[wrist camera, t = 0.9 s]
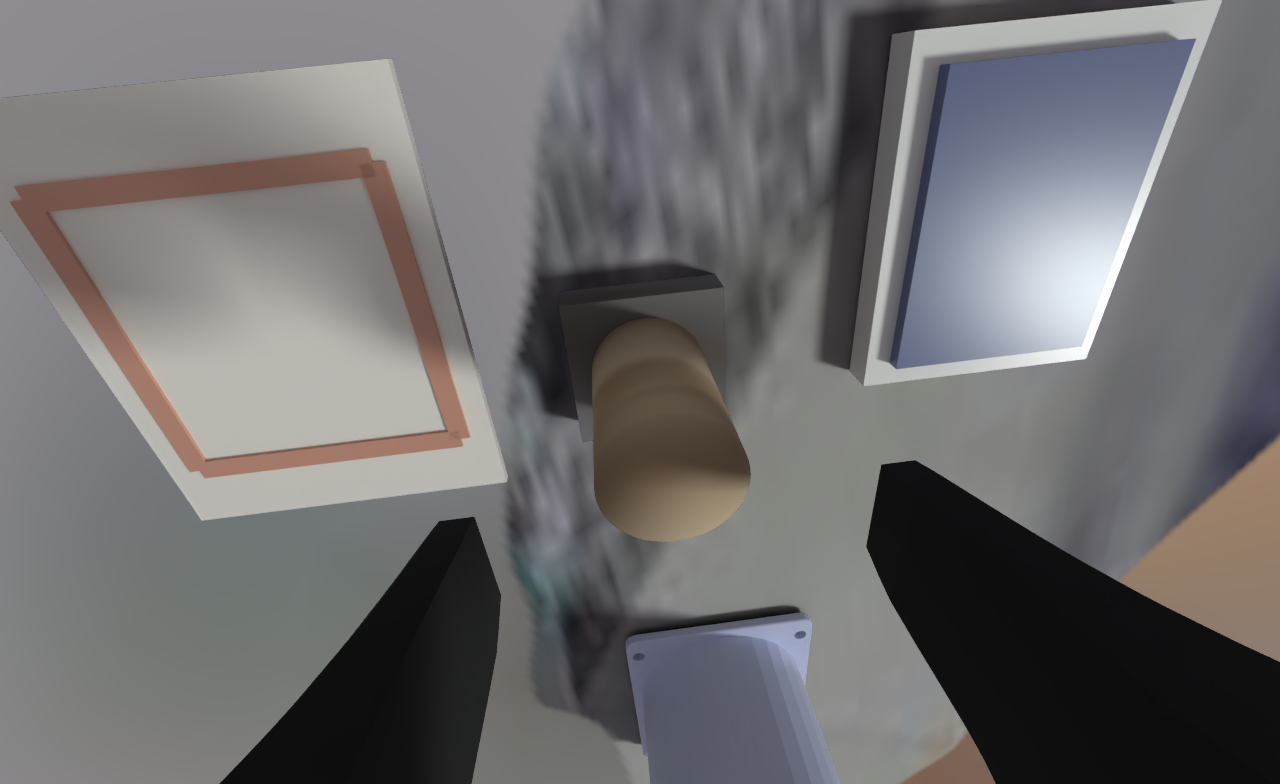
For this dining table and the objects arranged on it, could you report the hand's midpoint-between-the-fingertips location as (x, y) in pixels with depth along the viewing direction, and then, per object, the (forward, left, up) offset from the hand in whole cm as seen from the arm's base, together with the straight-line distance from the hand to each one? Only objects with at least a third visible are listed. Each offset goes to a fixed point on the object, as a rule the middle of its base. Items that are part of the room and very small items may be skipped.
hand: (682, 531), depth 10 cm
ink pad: (+3, -10, -8) cm, 13 cm away
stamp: (0, 0, -8) cm, 8 cm away
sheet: (+2, +10, -8) cm, 13 cm away
